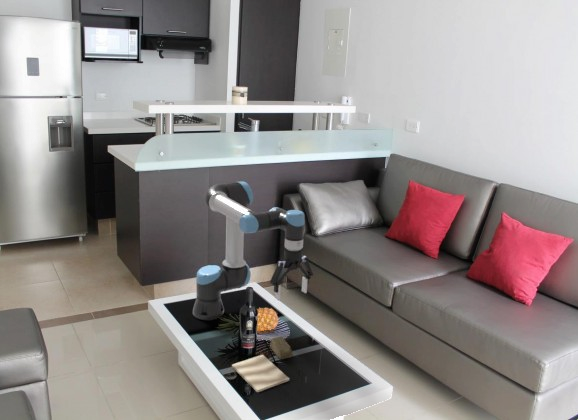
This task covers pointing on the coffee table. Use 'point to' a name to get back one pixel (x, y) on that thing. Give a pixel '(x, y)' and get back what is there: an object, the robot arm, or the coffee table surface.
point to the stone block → (281, 348)
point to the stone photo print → (260, 373)
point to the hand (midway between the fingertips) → (291, 295)
